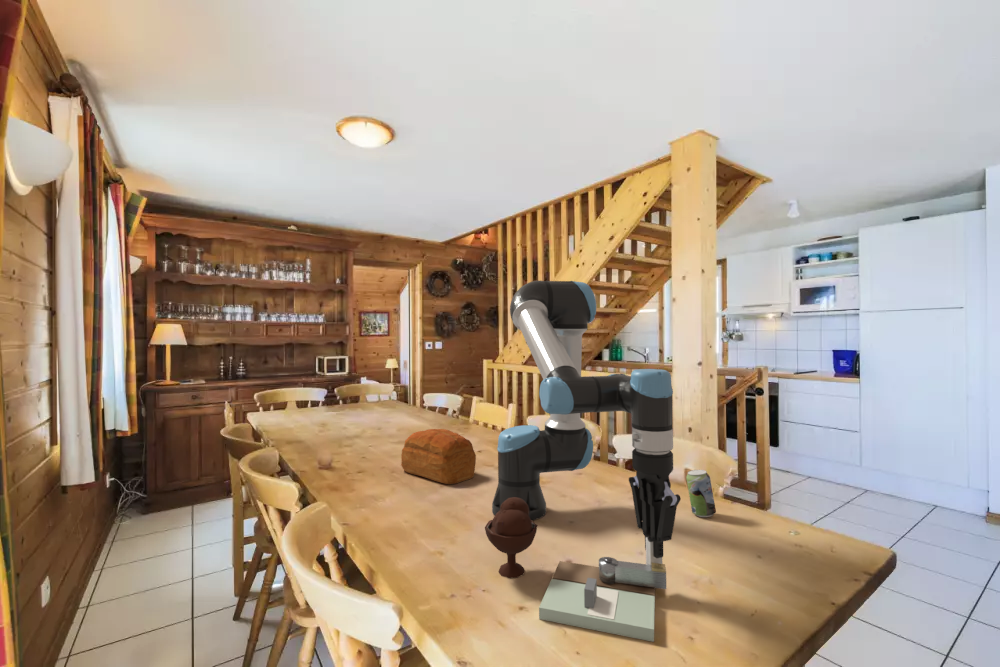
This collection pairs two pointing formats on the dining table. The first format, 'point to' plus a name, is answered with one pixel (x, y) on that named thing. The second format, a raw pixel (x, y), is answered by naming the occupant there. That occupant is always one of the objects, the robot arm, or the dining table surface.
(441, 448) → the bread
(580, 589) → the door slab
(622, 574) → the bar
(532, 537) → the ice cream bowl
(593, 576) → the strip
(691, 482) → the beverage can
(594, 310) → the robot arm
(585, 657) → the dining table surface
